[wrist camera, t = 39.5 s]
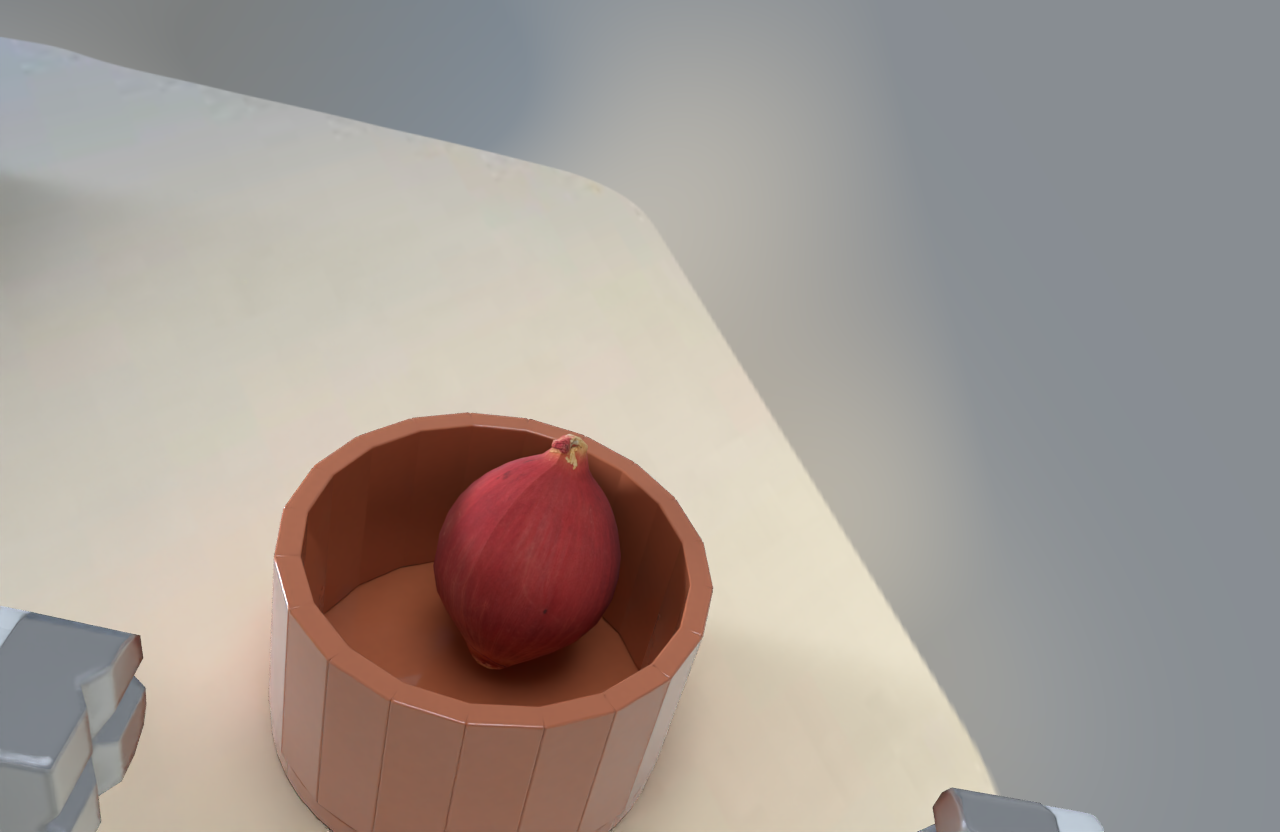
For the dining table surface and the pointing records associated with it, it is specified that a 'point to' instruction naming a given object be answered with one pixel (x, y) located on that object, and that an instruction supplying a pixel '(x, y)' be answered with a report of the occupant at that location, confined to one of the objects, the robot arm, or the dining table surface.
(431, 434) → the terracotta bowl
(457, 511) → the onion
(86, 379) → the dining table surface
